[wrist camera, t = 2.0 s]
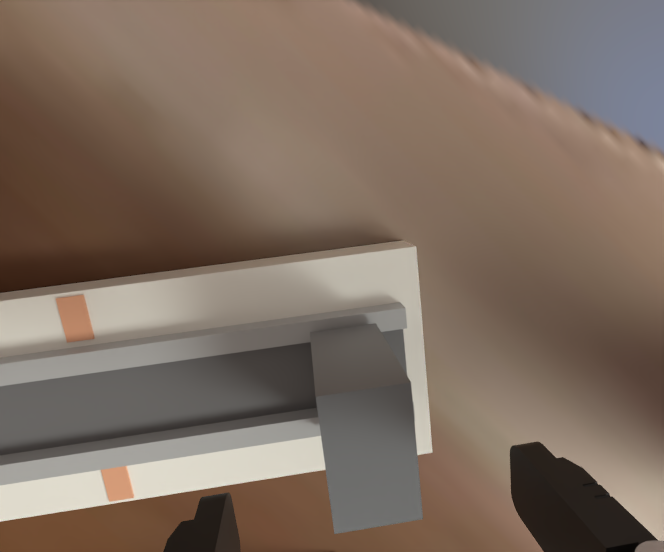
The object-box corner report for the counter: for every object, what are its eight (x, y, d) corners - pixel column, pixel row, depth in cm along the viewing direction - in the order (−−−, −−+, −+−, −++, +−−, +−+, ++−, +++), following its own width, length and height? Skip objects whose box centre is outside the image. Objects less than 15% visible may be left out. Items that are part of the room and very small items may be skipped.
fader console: (403, 240, 22) (422, 249, 19) (418, 426, 25) (438, 464, 21) (-69, 301, 21) (-140, 323, 18) (-6, 492, 23) (-59, 544, 20)
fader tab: (371, 316, 20) (410, 382, 13) (381, 411, 21) (422, 519, 14) (309, 325, 20) (315, 396, 13) (322, 421, 21) (334, 533, 14)
